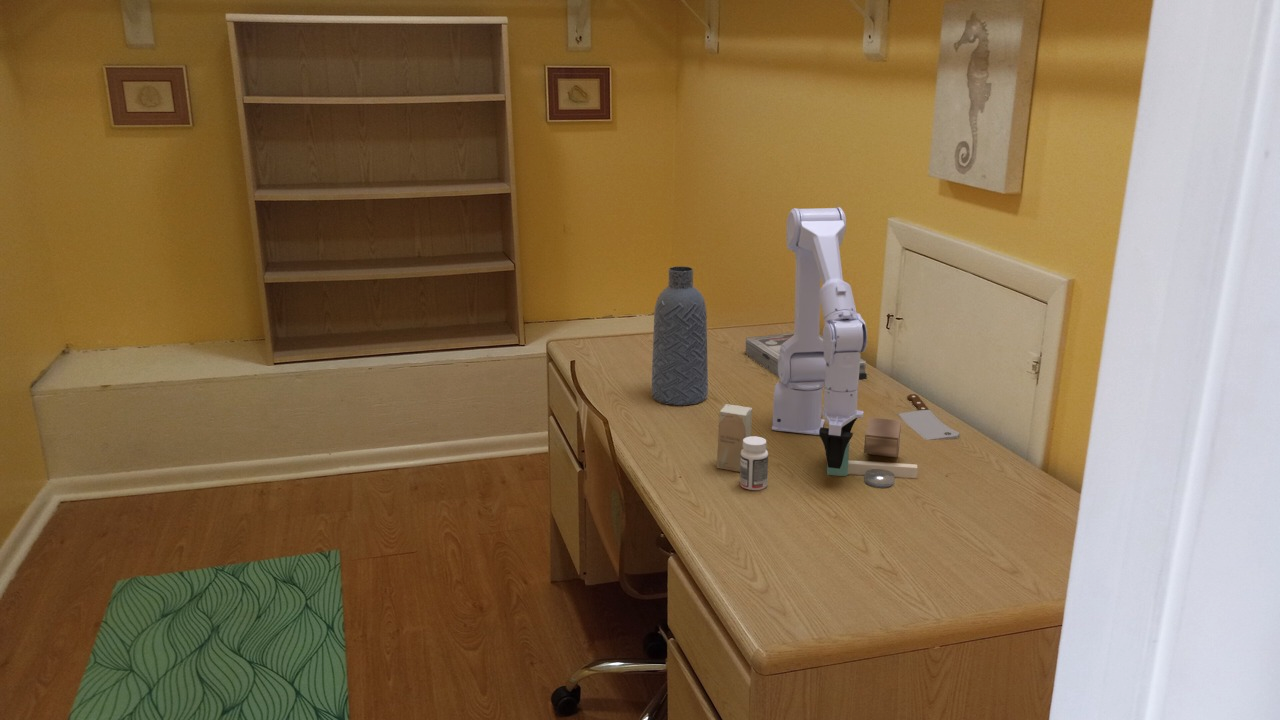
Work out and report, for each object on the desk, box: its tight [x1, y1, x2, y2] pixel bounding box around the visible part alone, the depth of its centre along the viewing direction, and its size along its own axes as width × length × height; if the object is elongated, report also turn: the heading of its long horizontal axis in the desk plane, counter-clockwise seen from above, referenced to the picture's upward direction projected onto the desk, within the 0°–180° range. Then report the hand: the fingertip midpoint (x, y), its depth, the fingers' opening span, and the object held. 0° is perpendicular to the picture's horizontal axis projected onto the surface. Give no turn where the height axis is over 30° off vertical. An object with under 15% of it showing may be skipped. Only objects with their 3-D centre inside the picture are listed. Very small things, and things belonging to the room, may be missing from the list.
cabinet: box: [863, 417, 902, 459], centre depth 181 cm, size 6×9×7 cm, turn 163°
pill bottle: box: [739, 435, 769, 491], centre depth 172 cm, size 5×5×8 cm
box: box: [716, 403, 753, 473], centre depth 179 cm, size 5×4×11 cm
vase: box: [650, 266, 709, 406], centre depth 212 cm, size 12×12×28 cm
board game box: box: [745, 332, 868, 381], centre depth 237 cm, size 18×27×4 cm
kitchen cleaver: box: [897, 393, 961, 441], centre depth 204 cm, size 24×1×10 cm
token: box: [864, 469, 896, 489], centre depth 174 cm, size 5×5×2 cm
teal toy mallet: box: [826, 441, 919, 479], centre depth 177 cm, size 16×4×6 cm, turn 81°
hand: (836, 459), depth 178 cm, fingers open, 7 cm apart
